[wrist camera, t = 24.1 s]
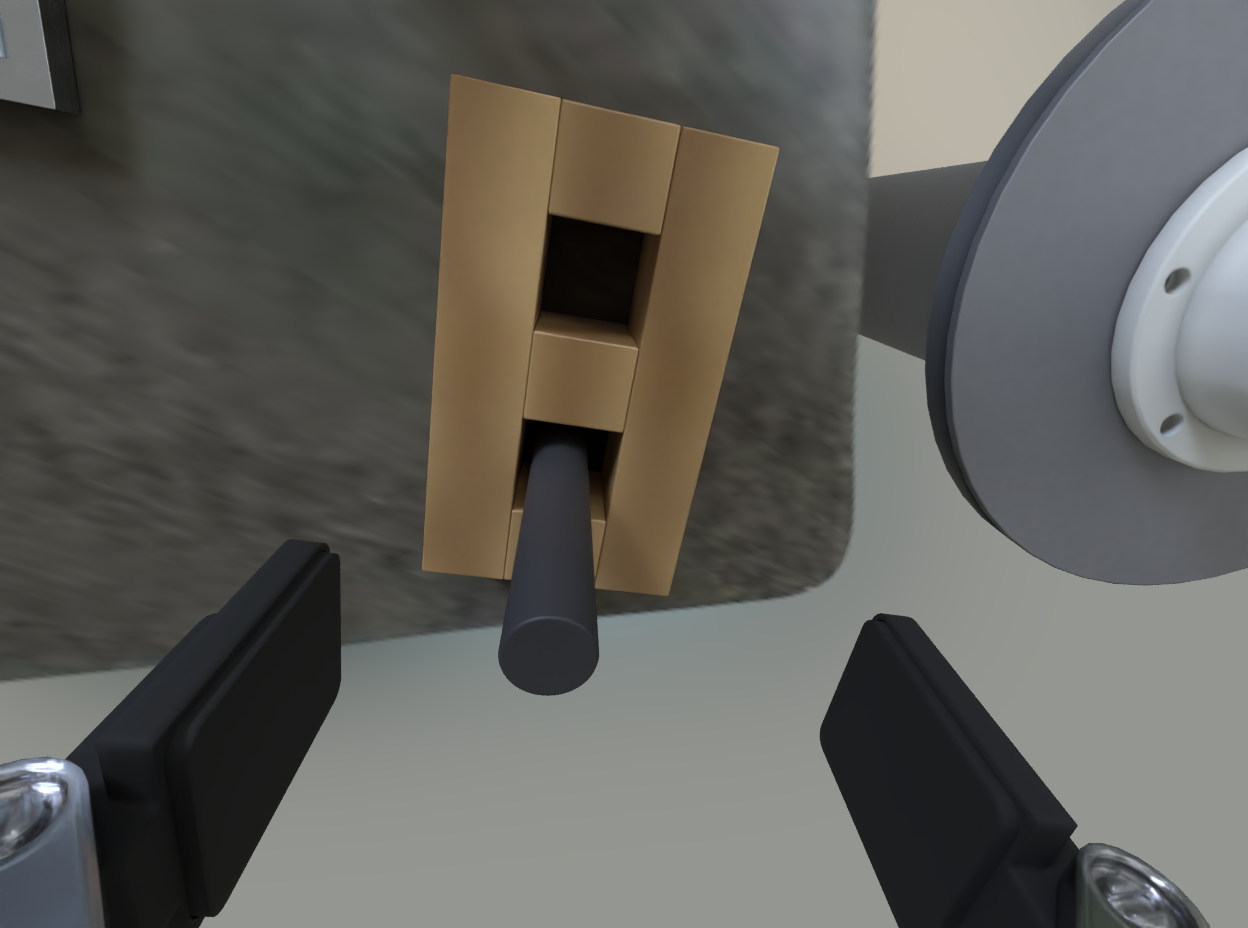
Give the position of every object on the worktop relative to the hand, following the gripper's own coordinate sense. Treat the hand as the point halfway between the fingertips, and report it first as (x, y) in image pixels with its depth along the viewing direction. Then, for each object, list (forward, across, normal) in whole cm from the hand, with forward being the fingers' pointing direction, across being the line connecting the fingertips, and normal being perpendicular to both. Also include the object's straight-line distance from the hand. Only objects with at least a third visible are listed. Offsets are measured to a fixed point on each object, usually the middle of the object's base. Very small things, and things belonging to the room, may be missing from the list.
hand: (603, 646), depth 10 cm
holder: (+12, +1, -2) cm, 12 cm away
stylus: (+12, +1, 0) cm, 12 cm away
